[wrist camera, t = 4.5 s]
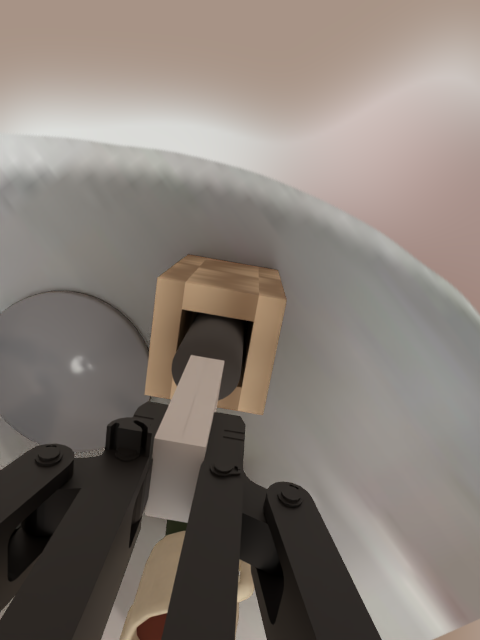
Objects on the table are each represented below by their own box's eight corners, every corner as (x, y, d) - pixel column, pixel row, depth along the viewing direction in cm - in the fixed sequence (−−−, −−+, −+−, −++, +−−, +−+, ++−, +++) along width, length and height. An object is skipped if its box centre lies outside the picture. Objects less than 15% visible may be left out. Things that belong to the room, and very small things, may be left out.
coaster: (-10, 429, 36) (-19, 437, 35) (-11, 276, 32) (-21, 279, 31) (144, 455, 37) (141, 464, 35) (162, 306, 33) (158, 310, 31)
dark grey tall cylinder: (196, 333, 30) (167, 396, 20) (202, 289, 29) (175, 332, 19) (242, 341, 30) (234, 407, 20) (250, 297, 29) (246, 344, 19)
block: (177, 339, 33) (144, 394, 24) (188, 254, 31) (157, 277, 22) (261, 353, 33) (262, 415, 24) (277, 270, 31) (286, 300, 22)
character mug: (178, 553, 39) (141, 716, 27) (134, 500, 38) (74, 646, 25) (274, 506, 38) (283, 658, 25) (233, 448, 36) (220, 579, 24)
